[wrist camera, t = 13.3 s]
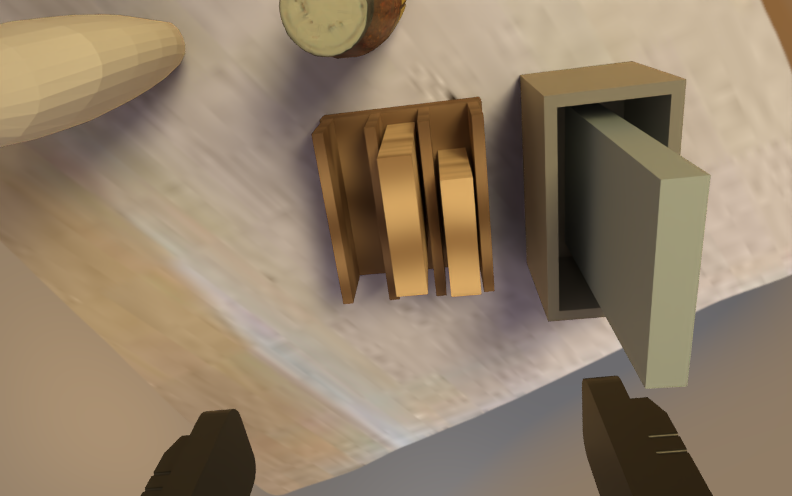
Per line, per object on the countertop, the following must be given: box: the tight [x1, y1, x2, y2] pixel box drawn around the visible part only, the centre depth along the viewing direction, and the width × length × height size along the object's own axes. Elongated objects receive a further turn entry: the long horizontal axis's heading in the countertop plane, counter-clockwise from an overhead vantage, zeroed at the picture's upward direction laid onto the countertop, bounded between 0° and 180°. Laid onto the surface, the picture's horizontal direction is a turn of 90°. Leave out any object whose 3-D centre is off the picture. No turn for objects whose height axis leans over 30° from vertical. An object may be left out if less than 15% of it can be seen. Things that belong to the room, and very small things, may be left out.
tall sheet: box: [565, 103, 711, 389], centre depth 37 cm, size 12×2×20 cm, turn 7°
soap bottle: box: [0, 14, 185, 147], centre depth 34 cm, size 14×8×27 cm, turn 108°
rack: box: [312, 97, 494, 304], centre depth 46 cm, size 14×13×7 cm
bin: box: [520, 61, 686, 321], centre depth 43 cm, size 17×9×10 cm, turn 7°
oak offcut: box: [377, 122, 428, 297], centre depth 42 cm, size 10×2×10 cm, turn 7°
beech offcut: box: [438, 148, 481, 297], centre depth 43 cm, size 9×2×8 cm, turn 7°
